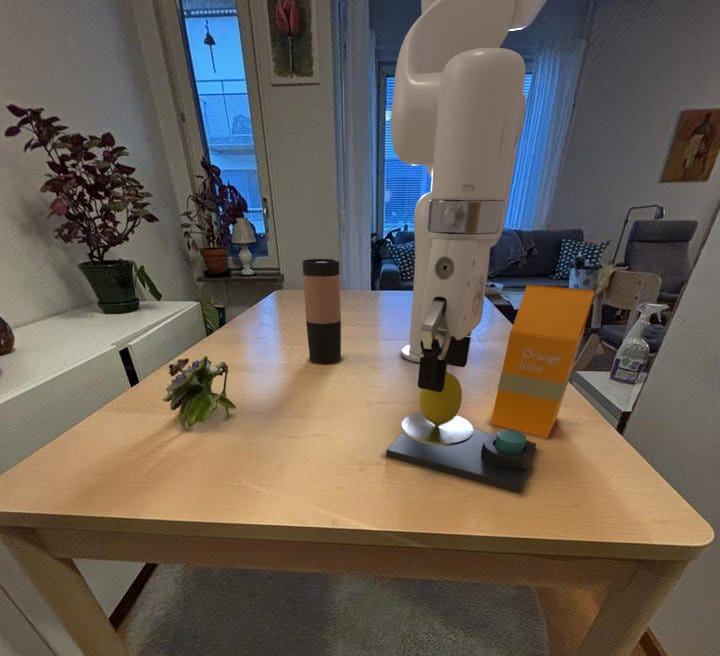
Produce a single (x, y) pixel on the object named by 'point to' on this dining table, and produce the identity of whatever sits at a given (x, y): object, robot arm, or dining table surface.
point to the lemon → (442, 401)
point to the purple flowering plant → (196, 390)
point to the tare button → (510, 441)
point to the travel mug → (323, 309)
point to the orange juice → (540, 357)
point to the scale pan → (437, 430)
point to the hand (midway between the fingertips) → (443, 376)
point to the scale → (469, 459)
